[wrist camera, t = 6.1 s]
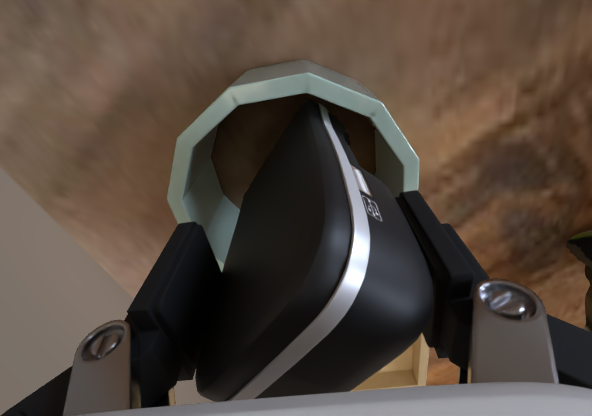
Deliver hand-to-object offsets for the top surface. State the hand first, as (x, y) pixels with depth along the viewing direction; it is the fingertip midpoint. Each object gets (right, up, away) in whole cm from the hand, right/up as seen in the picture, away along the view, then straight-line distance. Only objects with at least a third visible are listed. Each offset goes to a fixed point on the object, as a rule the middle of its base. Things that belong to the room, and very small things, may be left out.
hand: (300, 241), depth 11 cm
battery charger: (0, +4, +5) cm, 7 cm away
